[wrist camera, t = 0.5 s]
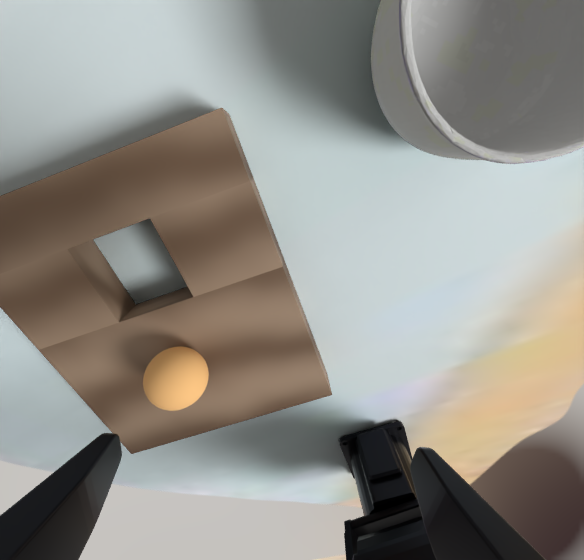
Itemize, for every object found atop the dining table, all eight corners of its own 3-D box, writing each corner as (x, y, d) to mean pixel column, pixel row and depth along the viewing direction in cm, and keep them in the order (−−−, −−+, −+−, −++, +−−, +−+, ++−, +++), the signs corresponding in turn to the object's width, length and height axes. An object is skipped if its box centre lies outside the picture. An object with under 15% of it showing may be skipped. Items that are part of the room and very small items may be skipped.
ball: (222, 370, 21) (211, 414, 18) (174, 385, 22) (153, 432, 18) (198, 327, 20) (180, 367, 16) (146, 344, 20) (117, 387, 16)
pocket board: (326, 372, 25) (332, 394, 23) (143, 428, 27) (131, 453, 24) (229, 114, 17) (221, 107, 14) (-30, 216, 18) (-73, 225, 16)
